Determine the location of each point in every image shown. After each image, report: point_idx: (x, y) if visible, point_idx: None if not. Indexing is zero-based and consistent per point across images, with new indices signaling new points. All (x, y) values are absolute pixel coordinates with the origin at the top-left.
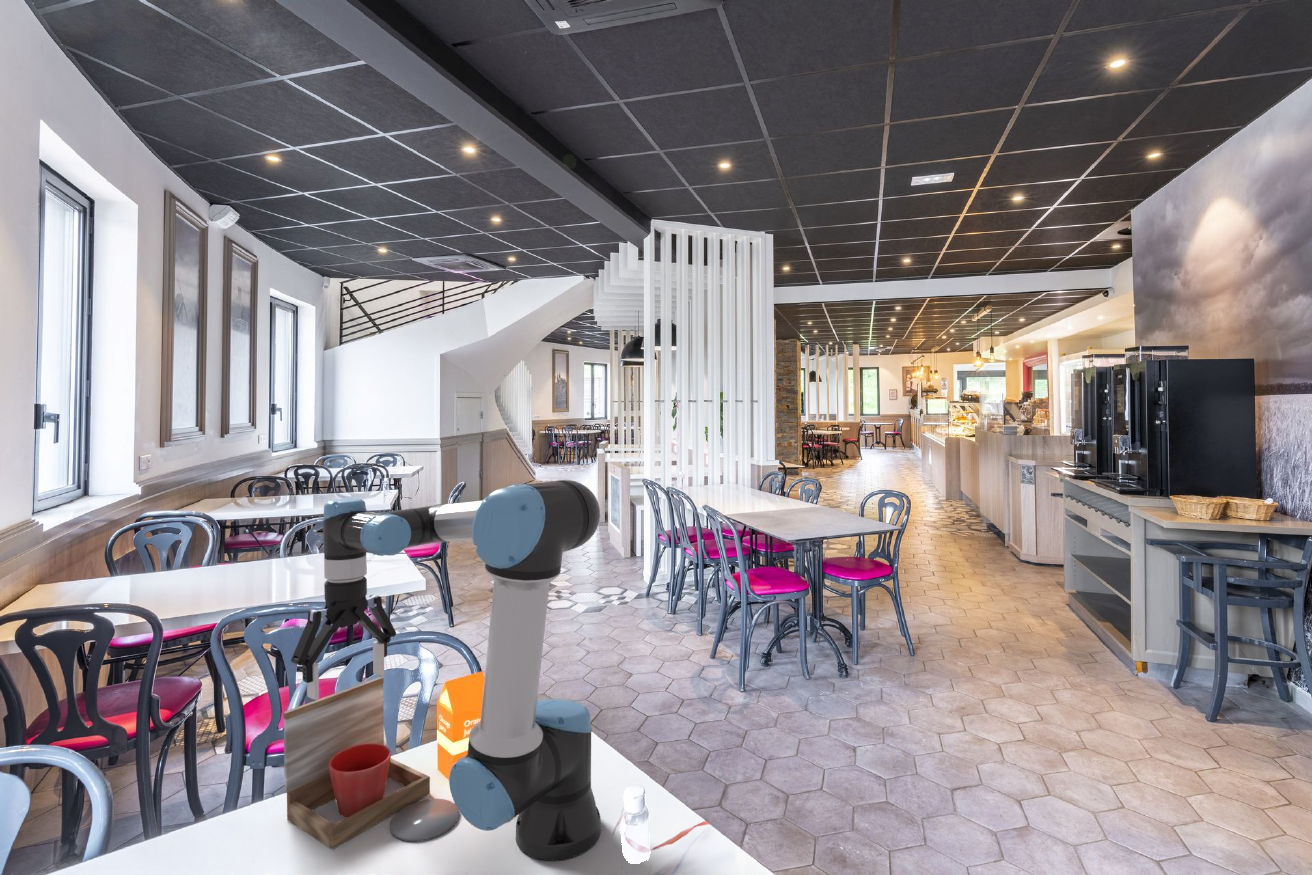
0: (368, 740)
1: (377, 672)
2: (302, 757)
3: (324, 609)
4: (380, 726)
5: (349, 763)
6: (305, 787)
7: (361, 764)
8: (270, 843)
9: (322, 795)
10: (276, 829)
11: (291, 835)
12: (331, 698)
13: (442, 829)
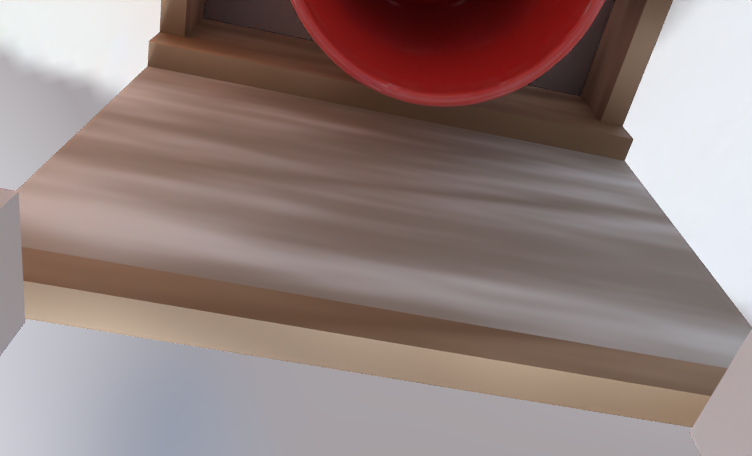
0: (220, 108)
1: (9, 268)
2: (593, 205)
3: None
4: (127, 112)
5: (398, 52)
6: (566, 125)
7: (350, 13)
8: (731, 51)
9: None
10: (652, 104)
11: (674, 19)
12: (462, 344)
13: None
